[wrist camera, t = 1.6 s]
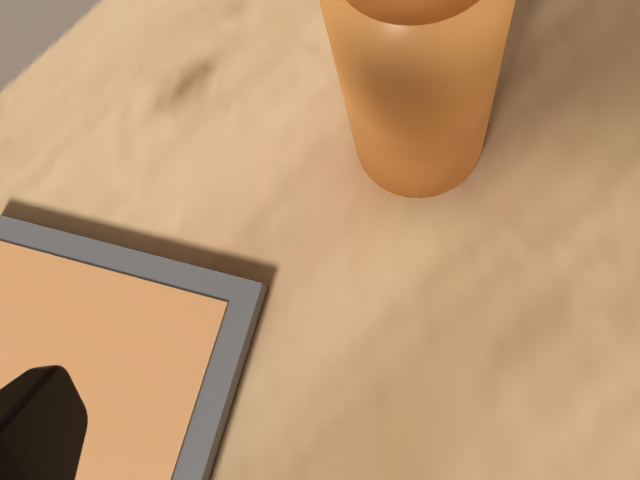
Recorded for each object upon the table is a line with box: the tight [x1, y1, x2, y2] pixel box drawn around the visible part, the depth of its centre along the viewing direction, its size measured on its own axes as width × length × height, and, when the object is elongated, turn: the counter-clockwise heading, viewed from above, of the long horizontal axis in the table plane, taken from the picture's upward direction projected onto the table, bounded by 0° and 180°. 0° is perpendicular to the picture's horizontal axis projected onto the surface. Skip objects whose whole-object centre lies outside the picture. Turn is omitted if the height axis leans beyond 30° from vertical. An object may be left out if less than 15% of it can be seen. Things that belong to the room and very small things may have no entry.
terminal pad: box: [0, 215, 268, 480], centre depth 22 cm, size 12×12×1 cm
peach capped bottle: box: [320, 0, 516, 198], centre depth 17 cm, size 5×5×13 cm
